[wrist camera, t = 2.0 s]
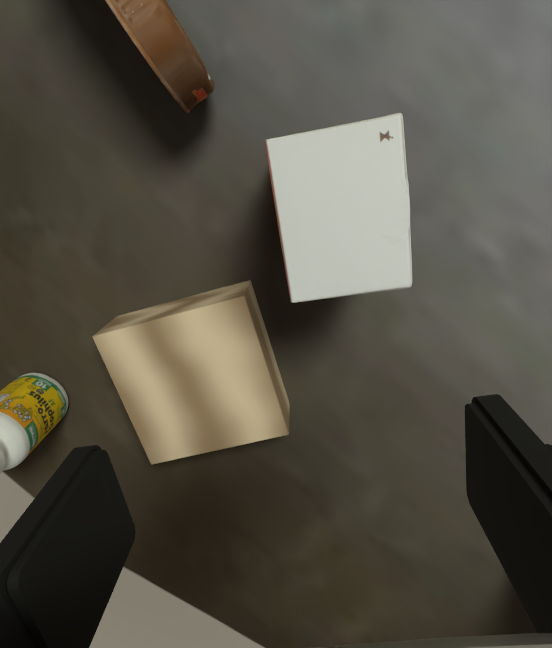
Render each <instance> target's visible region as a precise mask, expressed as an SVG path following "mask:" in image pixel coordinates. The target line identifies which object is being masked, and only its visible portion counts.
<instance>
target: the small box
mask: <svg viewBox="0 0 552 648" xmlns="http://www.w3.org/2000/svg"><path fill="white" fill-rule="evenodd" d="M265 146H266V154H267V160H268V167H269V173H270V179H271V186H272V192H273V199H274V205H275V210H276V217H277V223H278V229H279V236H280V242H281V247H282V253H283V259H284V265H285V272H286V278H287V284H288V289H289V295H290V301H291V302H292V303H296V302H304V301H311V300H319V299H327V298H335V297H343V296H350V295H358V294H366V293H373V292H381V291H389V290H397V289H405V288H410V287H411V285H412V258H411V235H410V199H409V185H408V179H407V169H406V156H405V141H404V126H403V115H402V114H401V113H398V114H393V115H388V116H384V117H379V118H374V119H369V120H364V121H359V122H354V123H349V124H344V125H339V126H334V127H329V128H324V129H319V130H314V131H309V132H303V133H298V134H293V135H288V136H283V137H278V138H272V139H268V140H266V141H265Z"/></svg>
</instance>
